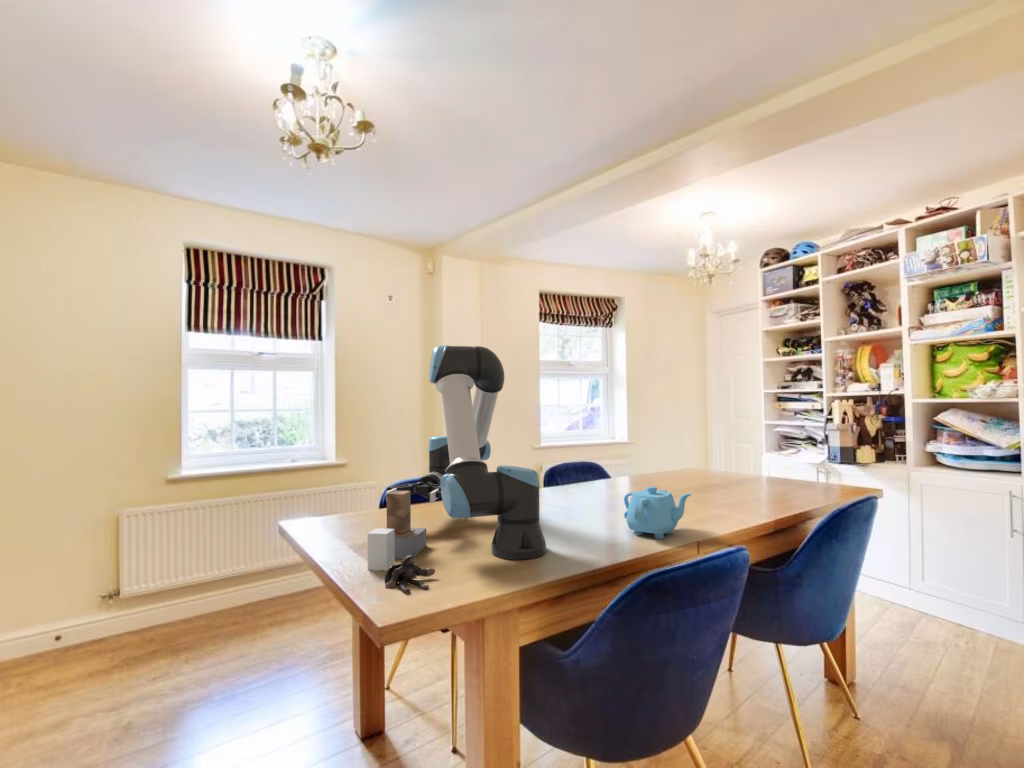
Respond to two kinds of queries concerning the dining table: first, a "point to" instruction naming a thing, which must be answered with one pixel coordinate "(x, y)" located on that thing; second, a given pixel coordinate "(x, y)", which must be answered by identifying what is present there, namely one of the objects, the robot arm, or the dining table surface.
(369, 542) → the white block
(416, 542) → the base block
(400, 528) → the walnut block
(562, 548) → the dining table surface
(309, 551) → the dining table surface
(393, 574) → the stuffed animal
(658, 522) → the teapot
